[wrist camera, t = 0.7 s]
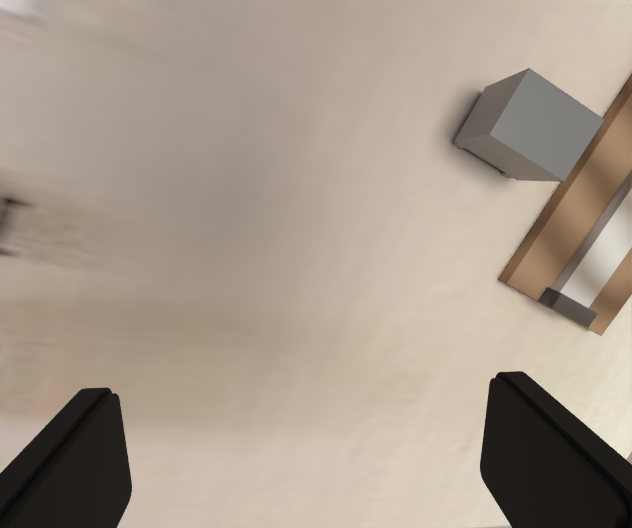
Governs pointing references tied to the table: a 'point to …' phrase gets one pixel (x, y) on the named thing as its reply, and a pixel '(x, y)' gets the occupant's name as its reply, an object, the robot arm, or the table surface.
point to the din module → (528, 128)
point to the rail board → (585, 231)
